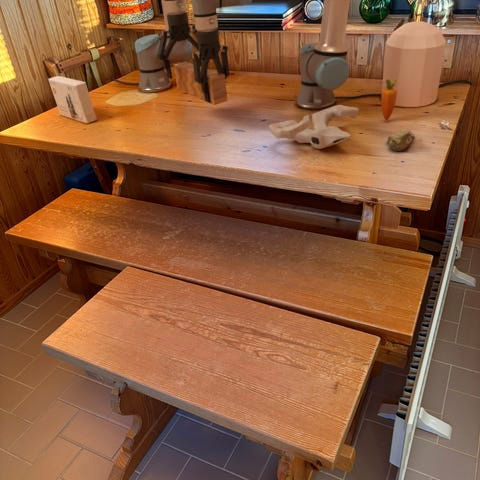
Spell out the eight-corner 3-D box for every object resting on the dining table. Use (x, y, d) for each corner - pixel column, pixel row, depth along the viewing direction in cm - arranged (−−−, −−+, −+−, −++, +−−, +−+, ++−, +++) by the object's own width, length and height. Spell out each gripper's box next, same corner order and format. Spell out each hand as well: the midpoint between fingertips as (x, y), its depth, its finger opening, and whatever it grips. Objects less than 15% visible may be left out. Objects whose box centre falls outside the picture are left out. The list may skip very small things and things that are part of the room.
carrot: (394, 118, 167) (398, 76, 158) (393, 123, 163) (397, 80, 154) (379, 117, 168) (383, 75, 160) (378, 122, 165) (382, 80, 156)
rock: (408, 140, 153) (379, 139, 152) (414, 122, 149) (384, 120, 148) (421, 154, 144) (391, 153, 143) (428, 135, 140) (396, 133, 139)
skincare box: (58, 115, 201) (47, 78, 192) (69, 111, 204) (58, 75, 195) (86, 124, 189) (75, 85, 180) (97, 119, 192) (87, 81, 183)
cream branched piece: (267, 156, 148) (265, 121, 142) (278, 128, 170) (277, 96, 163) (357, 157, 142) (360, 119, 136) (357, 127, 164) (359, 94, 157)
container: (406, 111, 172) (416, 29, 156) (369, 96, 188) (375, 22, 172) (449, 99, 178) (463, 20, 162) (410, 86, 194) (419, 13, 178)
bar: (177, 89, 181) (173, 64, 176) (189, 85, 184) (186, 61, 178) (214, 105, 161) (211, 78, 156) (227, 101, 164) (224, 74, 158)
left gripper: (149, 19, 156) (160, 83, 168) (212, 7, 167) (218, 68, 179) (140, 17, 162) (152, 79, 173) (201, 6, 172) (208, 65, 184)
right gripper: (187, 36, 145) (198, 108, 159) (236, 25, 153) (242, 95, 166) (176, 33, 151) (187, 103, 164) (224, 23, 158) (230, 91, 172)
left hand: (185, 74), depth 176 cm, fingers open, 13 cm apart
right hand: (215, 99), depth 165 cm, fingers closed on bar, 5 cm apart
